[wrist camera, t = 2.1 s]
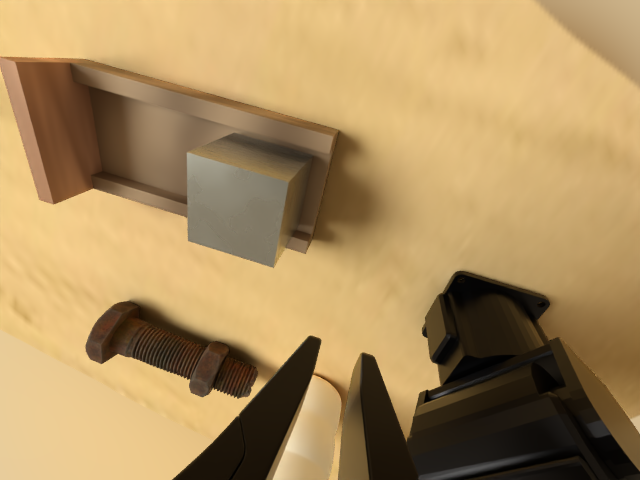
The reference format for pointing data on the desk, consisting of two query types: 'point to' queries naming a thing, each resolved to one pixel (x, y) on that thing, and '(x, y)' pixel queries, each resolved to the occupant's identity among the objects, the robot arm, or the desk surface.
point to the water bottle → (312, 435)
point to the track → (141, 134)
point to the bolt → (168, 352)
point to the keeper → (245, 196)
